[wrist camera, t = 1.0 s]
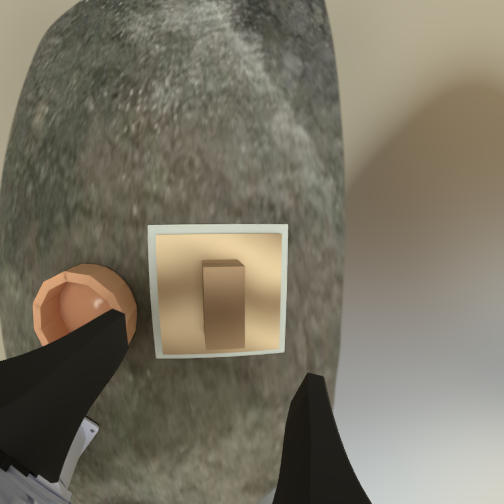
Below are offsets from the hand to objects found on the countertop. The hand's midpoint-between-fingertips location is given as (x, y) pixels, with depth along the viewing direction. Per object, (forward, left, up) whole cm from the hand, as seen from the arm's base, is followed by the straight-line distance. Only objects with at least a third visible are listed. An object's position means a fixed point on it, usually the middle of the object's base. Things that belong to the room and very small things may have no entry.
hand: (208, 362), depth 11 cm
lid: (0, -2, -14) cm, 14 cm away
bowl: (-8, +6, -15) cm, 17 cm away
